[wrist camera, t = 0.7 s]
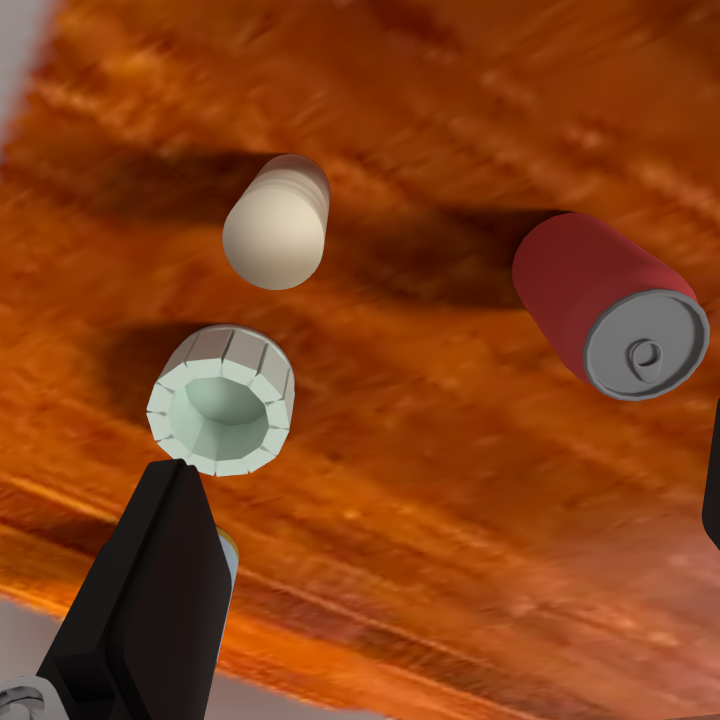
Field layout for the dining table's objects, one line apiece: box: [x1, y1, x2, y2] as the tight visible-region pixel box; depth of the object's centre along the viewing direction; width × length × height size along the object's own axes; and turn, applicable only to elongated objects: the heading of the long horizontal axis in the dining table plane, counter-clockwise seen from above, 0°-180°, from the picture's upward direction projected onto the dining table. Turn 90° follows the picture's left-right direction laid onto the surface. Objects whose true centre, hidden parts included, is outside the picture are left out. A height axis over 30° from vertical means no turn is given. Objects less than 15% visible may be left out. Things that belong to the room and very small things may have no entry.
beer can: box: [511, 213, 710, 401], centre depth 32 cm, size 7×7×12 cm
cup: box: [146, 324, 295, 476], centre depth 38 cm, size 8×8×5 cm
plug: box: [223, 154, 330, 290], centre depth 30 cm, size 4×4×10 cm
